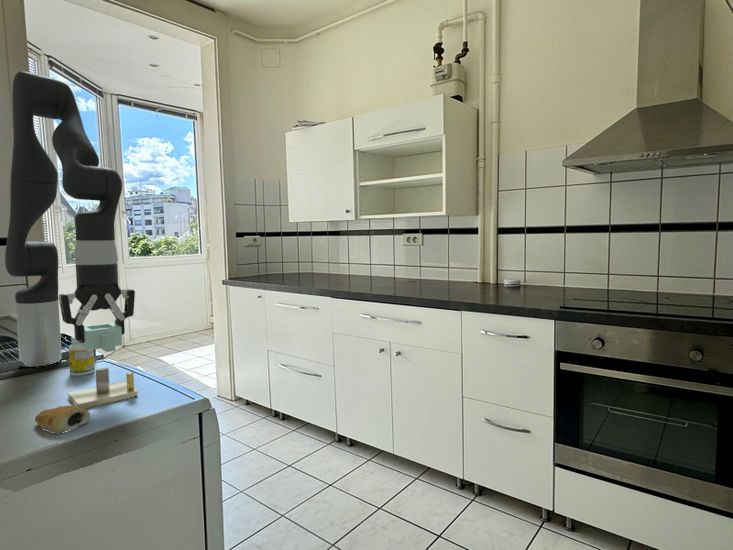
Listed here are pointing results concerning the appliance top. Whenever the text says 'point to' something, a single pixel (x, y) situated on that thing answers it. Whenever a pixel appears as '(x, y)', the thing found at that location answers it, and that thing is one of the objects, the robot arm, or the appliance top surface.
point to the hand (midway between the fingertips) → (100, 339)
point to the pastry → (62, 418)
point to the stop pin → (130, 381)
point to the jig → (101, 392)
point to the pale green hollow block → (102, 337)
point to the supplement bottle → (80, 359)
